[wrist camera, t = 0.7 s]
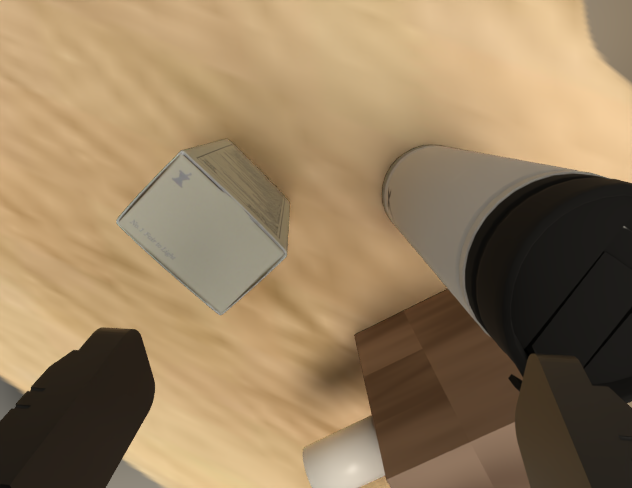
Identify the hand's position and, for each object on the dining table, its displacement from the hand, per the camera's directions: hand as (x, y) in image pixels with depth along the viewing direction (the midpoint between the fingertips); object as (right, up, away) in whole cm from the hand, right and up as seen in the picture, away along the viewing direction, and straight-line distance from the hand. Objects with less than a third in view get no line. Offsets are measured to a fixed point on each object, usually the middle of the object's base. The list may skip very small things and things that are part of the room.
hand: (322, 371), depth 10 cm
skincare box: (-5, +6, +21) cm, 23 cm away
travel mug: (+7, +6, +21) cm, 24 cm away
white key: (+2, -10, +19) cm, 21 cm away
